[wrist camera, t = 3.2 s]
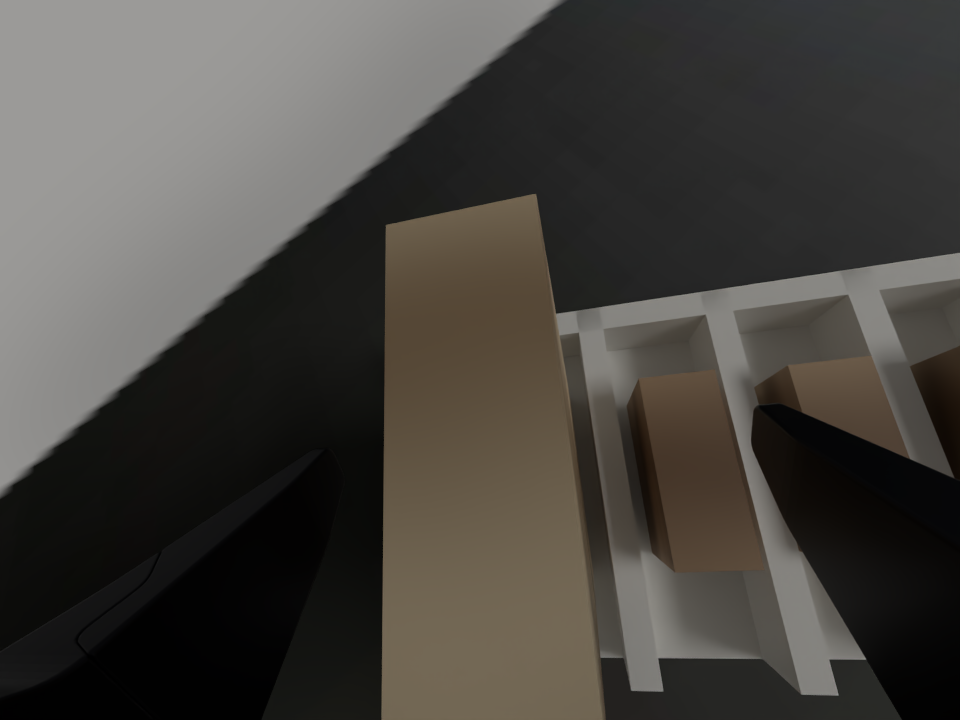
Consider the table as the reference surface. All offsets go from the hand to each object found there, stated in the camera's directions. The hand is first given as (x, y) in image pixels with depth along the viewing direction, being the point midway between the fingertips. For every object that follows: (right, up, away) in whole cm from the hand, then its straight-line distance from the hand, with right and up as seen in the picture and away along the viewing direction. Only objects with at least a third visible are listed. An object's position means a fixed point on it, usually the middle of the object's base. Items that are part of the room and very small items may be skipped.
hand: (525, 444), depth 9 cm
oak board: (+2, -3, +6) cm, 7 cm away
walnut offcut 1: (+6, -2, +6) cm, 8 cm away
